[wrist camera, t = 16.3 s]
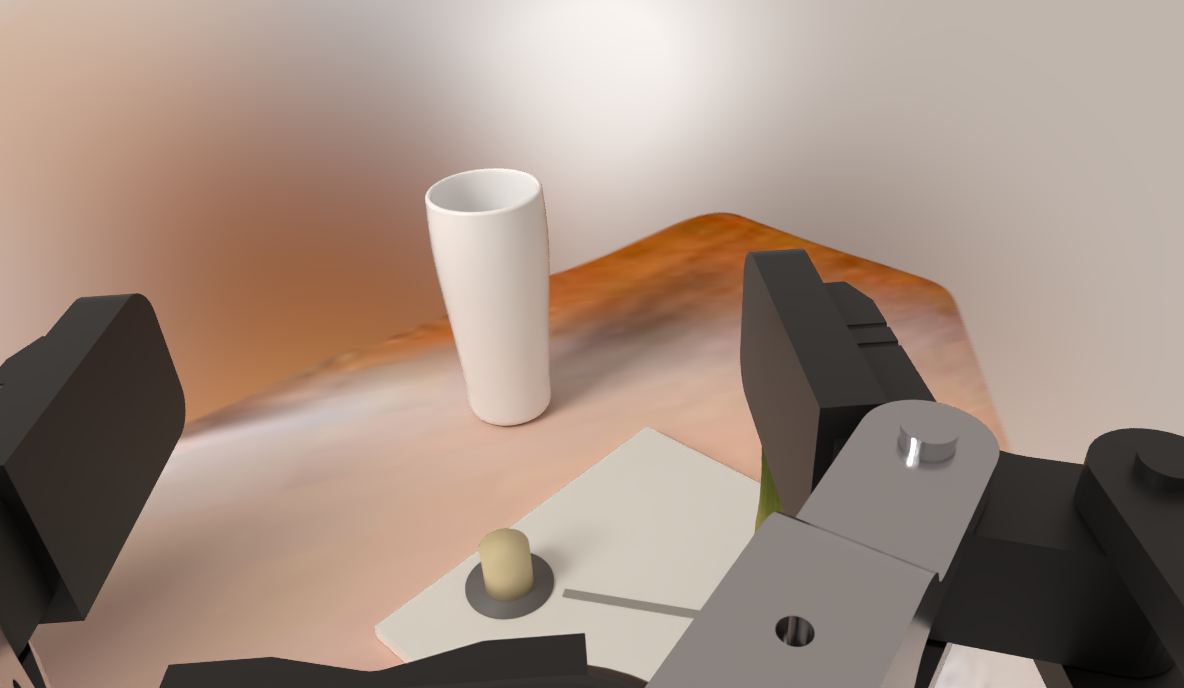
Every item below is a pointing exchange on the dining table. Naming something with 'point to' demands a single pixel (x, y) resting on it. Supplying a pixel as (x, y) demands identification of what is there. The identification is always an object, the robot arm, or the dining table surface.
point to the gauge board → (596, 562)
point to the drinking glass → (495, 287)
